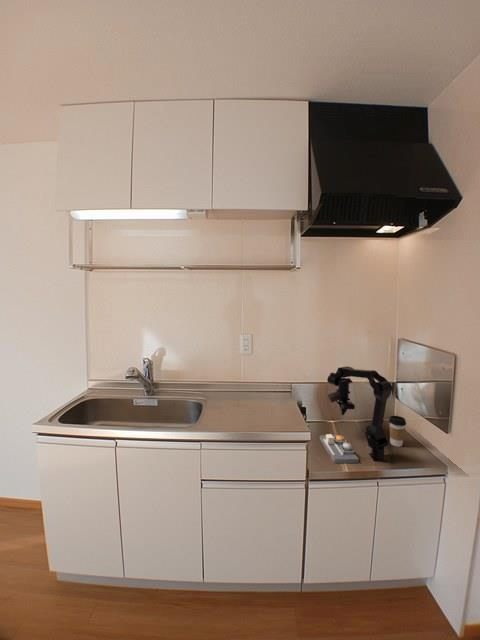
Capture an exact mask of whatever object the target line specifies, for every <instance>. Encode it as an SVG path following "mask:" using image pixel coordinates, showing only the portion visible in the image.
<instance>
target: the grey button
mask: <svg viewBox="0 0 480 640" xmlns="http://www.w3.org/2000/svg"><path fill="white" fill-rule="evenodd" d="M351 447H352V443H350V442H348V441H347V442H345V443H343V449H345V450H351Z"/></svg>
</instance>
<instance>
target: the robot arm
mask: <svg viewBox="0 0 480 640" xmlns="http://www.w3.org/2000/svg"><path fill="white" fill-rule="evenodd" d="M350 377H353V378H362V379H367V380H368V382H369V386H370V387H371V388H372V389H373V395H374V398H375V401H374V406H373V407H374V408H373V412H372V413H373V414H372V420H371V424H370V425H367V426H366V429H365V430H366V431H365V437H366V440H367V445H368V446H369V447H370V449H371V452H368V456H369V457H370V458H371V459H372V460H373V462H387V461H388V459H387V458H386V457H385V448H386V447H388V446H389V443H390V441H388V439H387V437H386V436H385V429H384V426H383V424H384V419H385V418H384V417H385V412H386V408H387V407H386V406H387V400H388V399H389V398H390V396H391V394H392V392H393V385H392V384H391V383H390V382H389V381H388V380H387V378H385V377H384V376H382V375H381V374H379V373H378V372H377V370H375V369H373V370H372V369H371V370H370V369H369V370H367V369H358V368H357V369H356V368H353V367H352V366H341V367H338V368H337V369H336V372H330V374H328V377H327V379H326V380H327V383H328V384H331V385H332V386H334V387H338V388H337V389H336V391H334V392H331V393H329V394H327V397H328V400H329V401H330V403H335V402H336V404H337V405H338V406H339V410H340V414H341V416H345V414H346V412H347V411H348V410H355V409H356V408H355V407H356V406H355V404H354V403H353V402H352V401H351V398H350V396H349V395H350V394H351V391H350V384H351V383H353V380H352V379H351V378H350Z"/></svg>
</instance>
